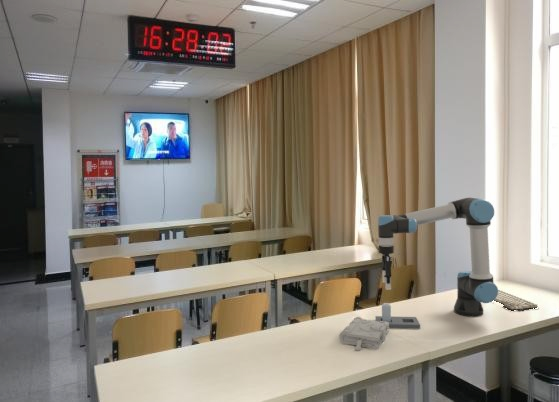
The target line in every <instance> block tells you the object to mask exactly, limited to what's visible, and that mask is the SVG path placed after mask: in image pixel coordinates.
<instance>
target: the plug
mask: <svg viewBox="0 0 559 402" xmlns="http://www.w3.org/2000/svg"><path fill="white" fill-rule="evenodd" d="M391 310H392V307H391V304H390V303H388V302H383V303H382V304H381V316H382V321H385V322H391V317H392V316H391V315H392V313H391V312H392V311H391Z"/></svg>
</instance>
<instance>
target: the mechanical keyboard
mask: <svg viewBox="0 0 559 402" xmlns="http://www.w3.org/2000/svg"><path fill="white" fill-rule="evenodd" d="M494 301H496V302H499V303H501V304H503V305H504V306H503V307H505V308H507V309H508V310H507V309H506V310H507V311H509V310H511V311H513V312H515V311H514V310H518V311H517V312H525V311H524V310H526V311H530V310H529V309H533V308H534V309H535V308H537V307H538V308H539V306H538V304H537V303H534V302H532V301H529V300H527V299H524V298H521V297H518V296H516V295H513V294H510V293H508V292H505V291H504V290H500V289H498V295H497V297H496V298H495V299H494ZM503 307H502V308H503ZM505 308H504V309H505ZM535 310H536V309H535ZM511 311H510V312H511Z"/></svg>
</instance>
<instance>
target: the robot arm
mask: <svg viewBox="0 0 559 402" xmlns="http://www.w3.org/2000/svg"><path fill="white" fill-rule="evenodd" d="M494 216H495V208H494V206H493V204H492V203H491V202H490V201H489V200H486V199H484V198H475V197H465V198H460V199H457V200H456V199H455V200H454V201H449V202H448V203H447V204H445V205H439V206H435V207H431V208H430V207H429V208H426V209H422V210H416V211H413V212H407V213H404V214H403V213H402V214H399V215H398V214H397V215H395V214H393V215H392V214H391V215H390V214H388V215H387V214H382V215H378V219H377V230H378V231H377V232H378V238H377V239H376V240H377V241H378V245H379V246H378V253H379V254H380V255H381V254H382V255H381V259H382V260H381V269H382V271H381V273H382V284H383V283H384V284H385V286H384V287H385V289H384V290H388V291H389V290H390V291H391V290H392V276H393V275H392V269H391V267H392V266H391V264H392V263H391V262H392V261H391V256H390V255H391V254H393V253H394V251H395V250H394V249H395V248H394V247H395V246H394V241H395V240H394V237H395V236H394V234H412V233H416V232H417V231H418V226H420V225H425V224H429V223H434V222H438V221H444V220H447V219H452V220H456V219H457V220H458V219H465V222H466V223H465V224H466V225H465V226H467V227H468V228H469V240H470V243H469V244H470V258H471V259H470V261H471V270H469V271H468V270H467V271H466V270H465V271H458V273H457V279H456V280H457V281H456V282H457V286H456V287H457V295H456V297H457V299H456V301H455V303H454V307H453V313H455V314H456V315H459V316H464V317H472V318H473V317H481V316H483V315H484V307H483V304H489V303H492V301H493V300H494V299H495V298H496V297H497V295H498V290H499V288H498V286H497V285H496V283H495V282H494V275H493V274H492V273H491V271H490V267H491V266H490V253H489V251H490V249H489V232H488V231H489V230H488V228H489V226H491V223H492V222H491V221H492V220H493V218H494Z"/></svg>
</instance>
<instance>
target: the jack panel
mask: <svg viewBox="0 0 559 402" xmlns="http://www.w3.org/2000/svg"><path fill="white" fill-rule="evenodd" d="M375 321H382V315H379V316H378V315H375ZM388 329H407V330H408V329H410V330H411V329H413V330H414V329H415V330H418V329H419V330H420V329H421V323H420V322H419V320H418V318H417V317H416V316H391V322H389V328H388Z"/></svg>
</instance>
